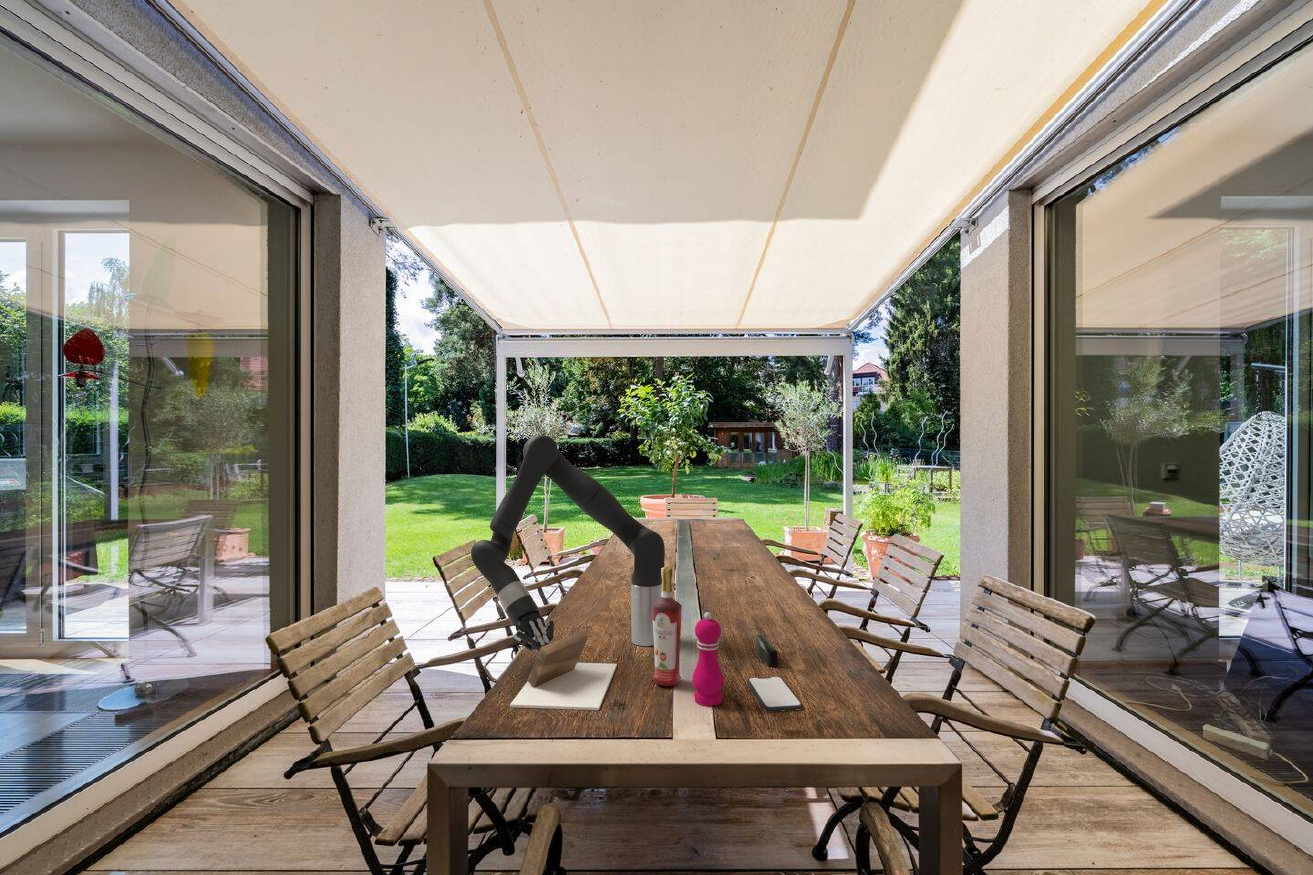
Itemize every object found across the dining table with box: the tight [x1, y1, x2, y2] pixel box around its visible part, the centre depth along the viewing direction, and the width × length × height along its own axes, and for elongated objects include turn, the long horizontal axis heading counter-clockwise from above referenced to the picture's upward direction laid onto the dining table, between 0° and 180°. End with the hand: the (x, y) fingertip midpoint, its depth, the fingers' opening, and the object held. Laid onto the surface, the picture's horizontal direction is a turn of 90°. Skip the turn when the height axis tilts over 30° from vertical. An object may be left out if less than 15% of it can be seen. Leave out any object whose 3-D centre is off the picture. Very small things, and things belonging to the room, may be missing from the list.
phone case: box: [747, 676, 803, 712], centre depth 134 cm, size 9×2×16 cm
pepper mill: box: [692, 611, 725, 707], centre depth 132 cm, size 7×7×20 cm
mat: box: [509, 662, 618, 711], centre depth 140 cm, size 20×26×1 cm
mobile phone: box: [753, 634, 778, 668], centre depth 159 cm, size 5×3×15 cm
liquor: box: [652, 566, 683, 687], centre depth 142 cm, size 7×7×28 cm
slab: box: [527, 631, 588, 687], centre depth 143 cm, size 3×14×10 cm, turn 145°
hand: (551, 659), depth 144 cm, fingers closed
